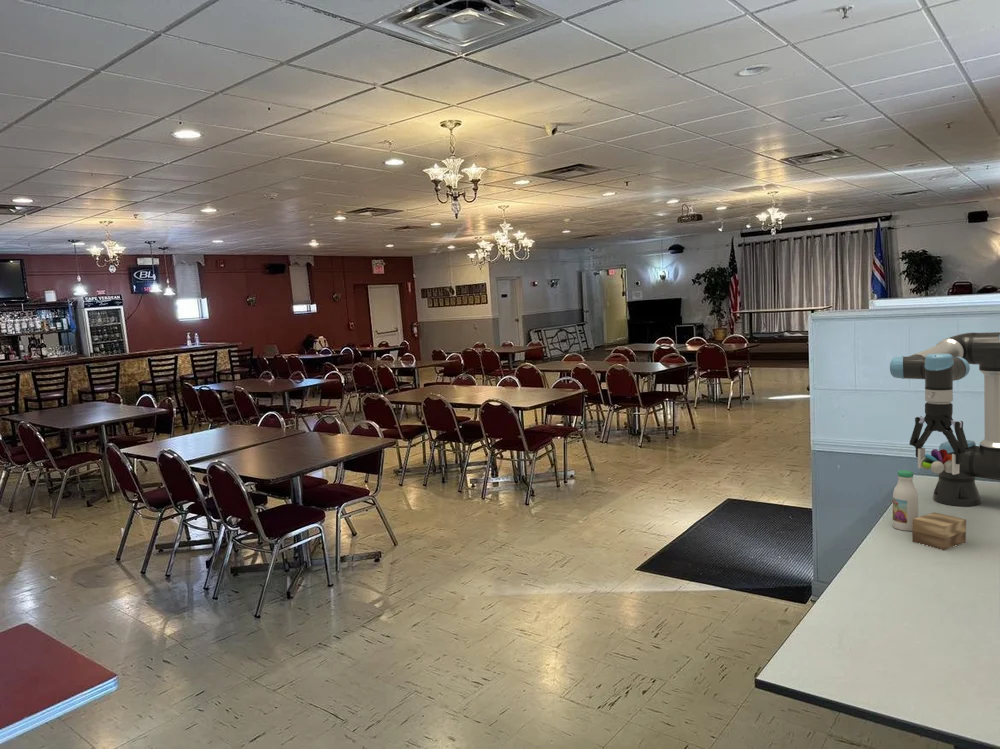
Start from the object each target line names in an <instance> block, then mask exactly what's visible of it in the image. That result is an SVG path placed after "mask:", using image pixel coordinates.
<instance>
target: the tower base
mask: <svg viewBox="0 0 1000 749" xmlns="http://www.w3.org/2000/svg"><path fill="white" fill-rule="evenodd" d="M911 532H912V534H911V536H912V538H911V539H912V540H911V541H912V543H916V544H919V543H920V544H919V545H922V544H924V545H923V546H926V545H928V546H927V547H930V546H931V548H933V547H934V549H937V548H938V549H937V550H940V549H942V550H941V551H946V550H949V549H951V548H950V547H952V548H954V547H953V546H955V545H957V546H960V545H963V544H966V542H967V540H966V539H967V531H966V532H963V533H960V534H957V535H954V536H951V537H948V538H945V539H942V538H938V537H934V536H930V535H926V534H923V533H919V532H915V531H911ZM962 543H963V544H962ZM959 544H960V545H959ZM955 547H956V546H955ZM948 548H949V549H948ZM945 549H946V550H945Z"/></svg>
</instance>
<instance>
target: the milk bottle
mask: <svg viewBox="0 0 1000 749" xmlns="http://www.w3.org/2000/svg"><path fill="white" fill-rule="evenodd" d="M897 478H898V480H897V484H896V485H895V487H894V489H893V493H892V527H893V528H894V529H896V530H900V531H905V532H912V531H913V519H914V518H918V517H919V493H918V491H917V488H916V487H915V484H914V482H913V479H914V472H913V471H911V470H907V469H900V470H898V471H897Z"/></svg>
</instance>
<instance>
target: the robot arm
mask: <svg viewBox="0 0 1000 749" xmlns="http://www.w3.org/2000/svg"><path fill="white" fill-rule="evenodd" d="M970 365H978V370H979V371H980V372H981V373H982V374H983V376H984V377H983V378H984V379H983V380H984V381H983V382H984V384H983V386H984V388H983V389H984V390H983V391H984V392H983V393H984V394H983V395H984V396H983V397H984V398H983V399H984V401H983V402H984V438H983V439H982V440H981V441H980V442H979V446H978V445H976V444H977V443H976V442H975V441H974V440H969V439H966V438H967V437H966V434H965V431H964V421H963V420H954V419H953V410H954V409H953V407H954V406H953V403H952V402H953V401H954V394H953V393H954V392H953V391H954V390H953V389H954V387H953V386H954V381H960V380H962V379H964V378H966V377H967V376H968V374H969V372H970V367H971V366H970ZM889 373H890V375H891V376H892V377H893V378H896V379H902V380H905V379H908V380H911V379H912V380H924V400H925V403H924V413H925V416H922V415H921V416H916V417H915V418H914V427H913V431H912V434H911V437H910V440H909V446H913V447H914V448H915V458H917V469H919V470H920V469H923V468H922V467H921V466H920V461H921V460H922V459H923V458H925V454H926V447H924V445H925V443H926V442H927V440H928V439H929V437H930V436H931V435H932V433H933V432H939V433H942V435H944V436H945V438H946V440H947V441H944V442H941V443H940V444H939V446H938V451H940V450H942V449H945V450H946V451H947V453H948V455H952V473H947V472H946V471H945V470H943V472H941V473H938V480H937V483H936V485H935V488H934V491H933V493H932V495H933V497H932V499H933V501H934V502H937V503H940V504H943V505H948V506H954V507H974V506H978V505H980V504H981V494H980V493H979V489H978V487H977V485H976V478H980V479H986V480H987V479H988V480H994V481H1000V331H999V332H998V331H997V332H965V333H961V334H957V335H953V336H949V337H948V338H947V337H946V338H944V339H942V340H940V341H939V342H938V343H936V345H935V346H932V347H929V348H927V349H924V350H922V351H920V352H917V353H913V354H912V355H908V356H903V355H901V356H893V357H892V359H891V361H890V363H889ZM925 423H926V426H925V428H924V430H923V432H922V429H923V427H924V424H925ZM952 427H953V428H954V431H953V428H952ZM921 433H922V434H921ZM954 433H955V434H954ZM955 435H956V436H955Z"/></svg>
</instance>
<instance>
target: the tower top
mask: <svg viewBox="0 0 1000 749" xmlns="http://www.w3.org/2000/svg"><path fill="white" fill-rule="evenodd" d="M913 531H915V532H919V533H923V534H926V535H930V536H934V537H938V538H942V539H945V538H948V537H951V536H954V535H957V534H960V533H963V532H966V533H967V519H965V518H960V517H957V516H953V515H947V514H943V513H939V512H931V513H928V514H926V515H925V514H924V515H921V516H918V518H914V519H913Z"/></svg>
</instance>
